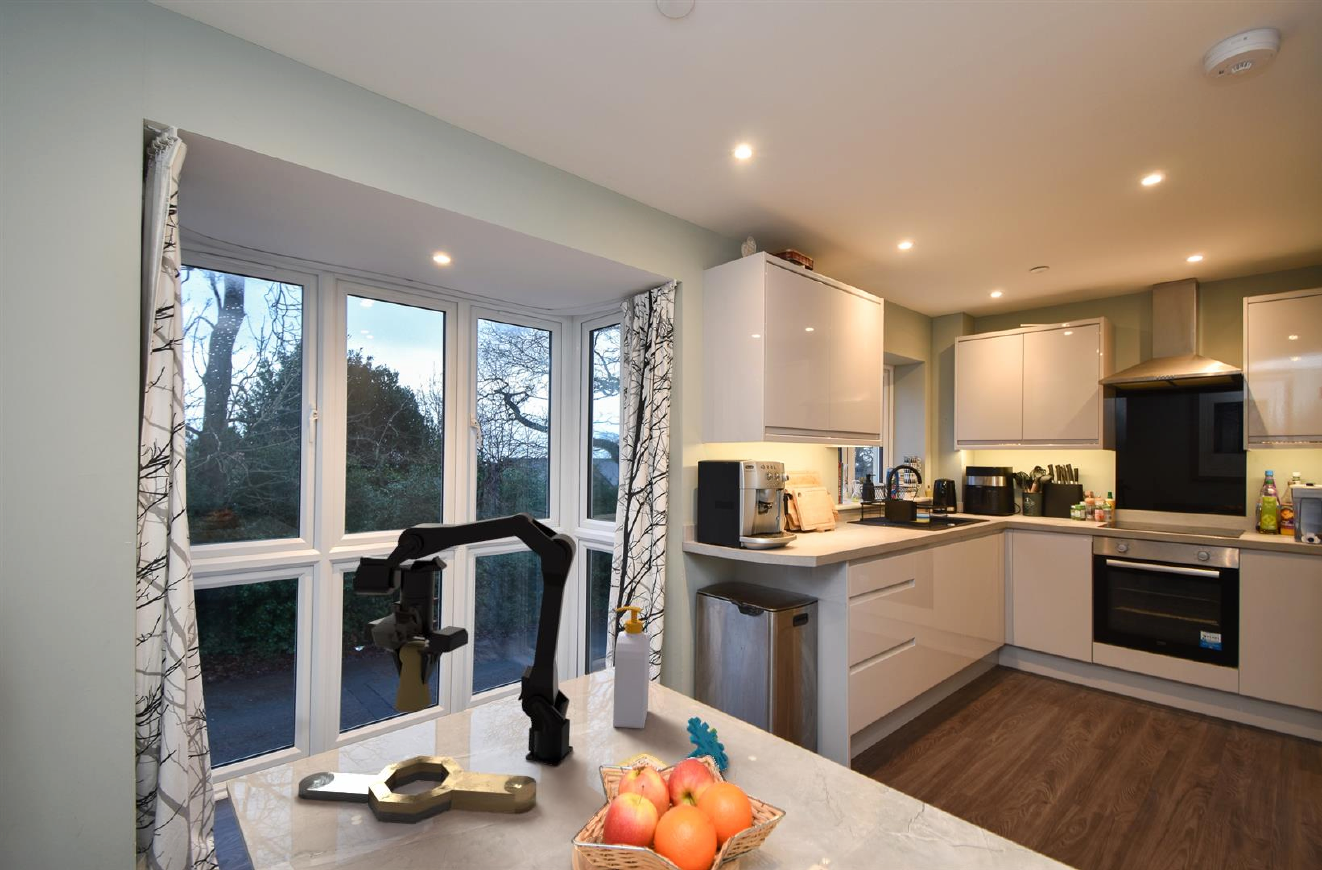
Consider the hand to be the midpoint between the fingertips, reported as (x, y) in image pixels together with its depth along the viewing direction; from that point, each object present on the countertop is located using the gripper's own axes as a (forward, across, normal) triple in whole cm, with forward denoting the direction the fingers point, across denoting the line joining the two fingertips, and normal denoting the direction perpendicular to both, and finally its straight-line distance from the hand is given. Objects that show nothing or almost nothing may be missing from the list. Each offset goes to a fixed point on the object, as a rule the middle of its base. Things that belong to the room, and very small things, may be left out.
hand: (414, 682), depth 106 cm
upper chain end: (+13, +16, -8) cm, 22 cm away
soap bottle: (+13, +31, +28) cm, 44 cm away
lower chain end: (+13, +4, -12) cm, 18 cm away
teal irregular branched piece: (+13, +50, +17) cm, 55 cm away
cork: (+4, 0, 0) cm, 4 cm away
